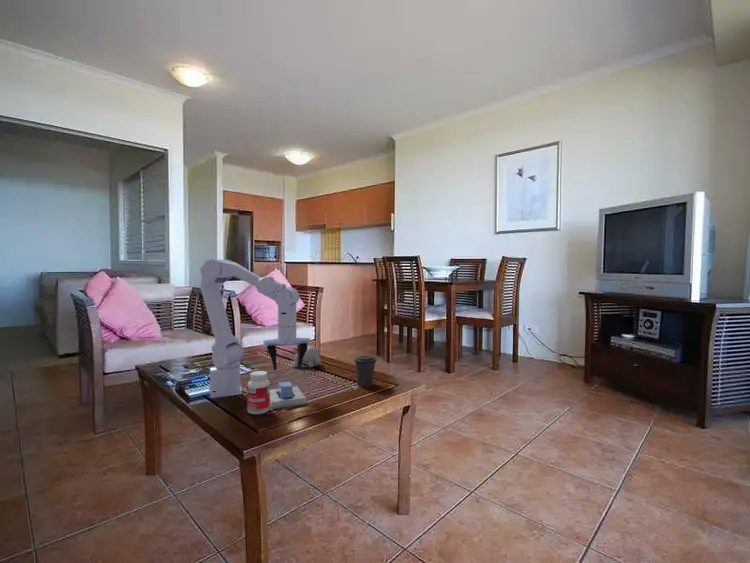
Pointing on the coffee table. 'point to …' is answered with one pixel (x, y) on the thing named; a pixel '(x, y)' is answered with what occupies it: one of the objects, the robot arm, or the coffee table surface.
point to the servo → (285, 390)
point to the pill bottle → (258, 393)
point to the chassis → (280, 402)
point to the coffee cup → (365, 370)
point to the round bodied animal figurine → (309, 357)
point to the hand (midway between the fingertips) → (287, 368)
